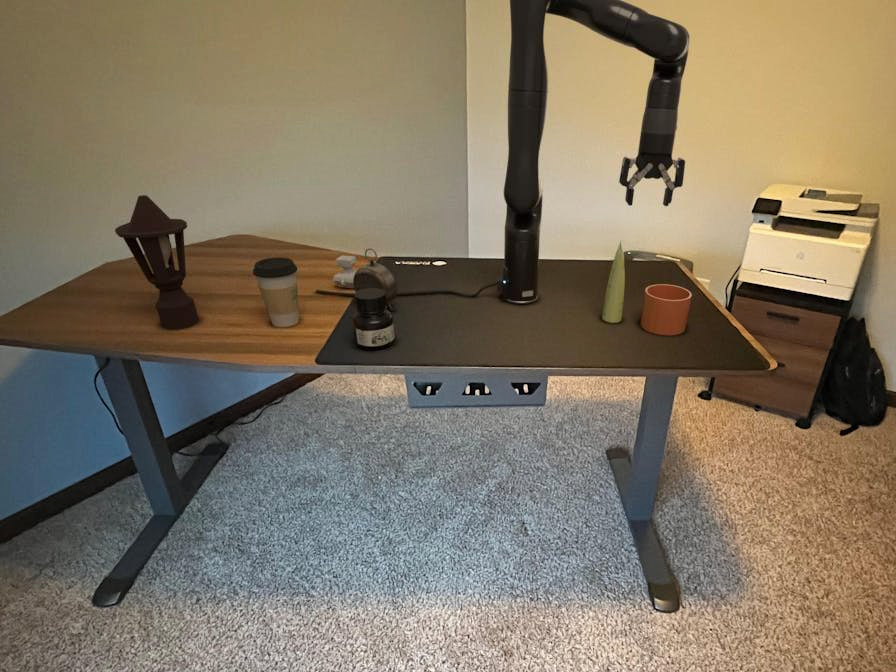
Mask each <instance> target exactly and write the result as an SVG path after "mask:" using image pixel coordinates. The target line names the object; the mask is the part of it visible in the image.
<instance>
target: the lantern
mask: <svg viewBox="0 0 896 672" xmlns="http://www.w3.org/2000/svg"><path fill="white" fill-rule="evenodd" d="M187 228H188V223H187V221H185V220H184V219H182V218H170V217H169V216H168V215H167V214H166V213H165V212H164V211H163V210H162V209H161V207H160V206H158V205H157V204H156V202H154V201H153V200H152V199H151V198H150V197H149V196H148V195H146V194H143V195H138V197H137V200H136V202H135V206H134V208H133V212H132V215H131V217H130V220H129V222H127V223H124V224H121V225H119V226H117V227H116V228H115V230H114V232H115V234H116V235H117V236H118V237H119V238H122V239H123V241H124V242H125V244H126V246H127V248H128V249H129V250H130V252H131V253H132V256H133V257H134V259H135V261H136V262H137V264H138V267H139V268H140V270H141V271H142V273H143V275H144V277H145V279H146V280H147V281H148V283H150V284H151V285H153V286H154V287H155V288H156V289H157V290H159V291H158V299H157V301H156V302H155V304H154V306H155V309H156V312H157V314H158V315H157V316H158V318H159V322H160V326H161V327H162V328H163V329H166V330H182V329H187V328H190V327H193V326H195V325H197V324H198V323H199V321H200V319H199V314H198V311H197V307H196V303H195V300H194V298H193V297H192V296H190V295H188V293H186V291H185V289H183V287H182V286H183V285H184V280H185V278H186V277H187V271H186V252H185V251H186V250H185V233H184V232H185V230H186V229H187ZM170 235H174V243H175V251H176V258H177V265H178V269H176V266H175V261H174V255H173V250H172V248H173V247H172V242H171V238H170ZM138 241H139V242H138Z"/></svg>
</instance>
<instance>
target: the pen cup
mask: <svg viewBox="0 0 896 672" xmlns="http://www.w3.org/2000/svg"><path fill="white" fill-rule="evenodd" d="M643 295H644V296H643V299H642V300H643V302H642V308H641V315H640V323H639V324H640V327H641V328H642V329H643V330H645V331H646V332H649V333H650V334H655V335H659V336H677V335H680V334H682V333H684V332H685V331H686V328H687V323H688V319H689V312H690V307H691V302H692V296H693V294H692V292H691V291H690V290H689V289H687V288H685V287H682V286H678V285H674V284H667V283H665V284H664V283H660V284H659V283H658V284H652V285H649V286H647V287H645V289H644V294H643Z"/></svg>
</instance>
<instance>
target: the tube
mask: <svg viewBox="0 0 896 672" xmlns="http://www.w3.org/2000/svg"><path fill="white" fill-rule="evenodd" d="M624 253H625V252H624V249H623V244H622V240H620V242H619V245H618V247H617V249H616V252H615V254H614V258H613V261H612V265H611V268H610V272H609V276H608V281H607V285H606V291H605V296H604V302H603V309H602V316H601V319H602V320H603V321H604V322H606V323H610V324H618V323H619V322H620V323H621V321H622V319H623V311H624V299H625V288H626V287H625V285H626V272H625V271H626V269H625V268H626V267H625V254H624Z"/></svg>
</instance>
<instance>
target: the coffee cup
mask: <svg viewBox="0 0 896 672" xmlns="http://www.w3.org/2000/svg"><path fill="white" fill-rule="evenodd" d="M297 272H298V267H297V265H296V264H295V262H294V260H293V259H292V258H288V257H277V256H276V257H268V258H264V259H260V260H258V261H256V262H255V263H254V267H253V269H252V275H253V276H254V277H255V278H256V281H257V287H258V290H259V292H260V294H261V295H260V296H261V298H262V300H263V303H264V305H265V309H266V311H267V313H268V315H269V319H270V321H271V324H272V325H273V326H274V327H276V328H289V327H291V326H292V327H293V326H295V325H297V324H298V323H299V322H300V318H299V291H298V279H297Z"/></svg>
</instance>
